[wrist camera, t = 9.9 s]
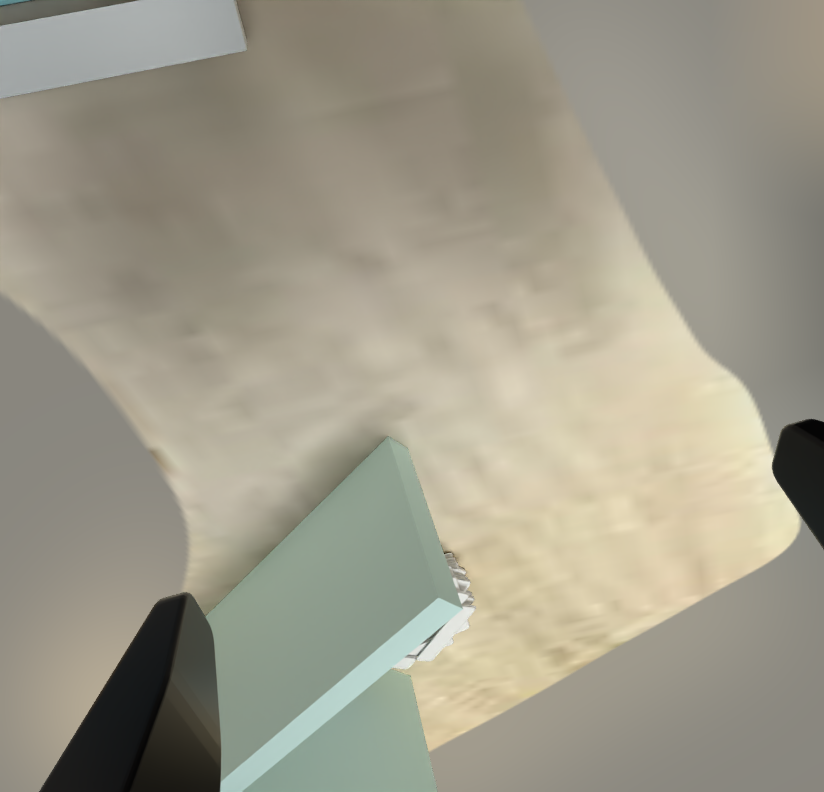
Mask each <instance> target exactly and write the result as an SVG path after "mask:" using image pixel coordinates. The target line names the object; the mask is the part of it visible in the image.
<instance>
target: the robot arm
mask: <svg viewBox="0 0 824 792" xmlns="http://www.w3.org/2000/svg"><path fill="white" fill-rule="evenodd" d="M772 470H773V474H774V476H775V479H776V480H777V482H778V484H779V485H780V487H781V488H782V489H783V491H784V492H785V494H786V495H787V497H788V498H789V500H790V501H791V503H792V504H793V505H794V507H795V508H796V510H797V511H798V513H799V514H800V516H801V517H802V519H803V520H804V521H805V523H806V524H807V526H808V527H809V529H810V530H811V532H812V533H813V534H814V536H815V537H816V539H817V540H818V542H819V543H820V545H821V546H822V548H823V549H824V422H822V421H818V420H815V419H806V420H802V421H799V422H795V423H792V424H788V425H786V426H785V427H784V428H783V429H782V430H781V433H780V436H779V440H778V444H777V448H776V451H775V455H774V458H773V462H772ZM220 786H221V731H220V717H219V703H218V689H217V675H216V661H215V647H214V638H213V633H212V629H211V626H210V624H209V622H208V621H207V619H206V617H205V616H204V614H203V612H202V611H201V609H200V607H199V605H198V604H197V602H196V600H195V599H194V597H193V596H192V595H191V594H190V593H188V592H183V593H180V594H176V595H172V596H169V597H166V598H163V599H160V600H159V601H158V602H157V603H156V604H155V605H154V607H153V608H152V610H151V612H150V614H149V615H148V616H147V618H146V620H145V622H144V623H143V625H142V626H141V628H140V629H139V631H138V633H137V634H136V636H135V638H134V639H133V641H132V642H131V644H130V646H129V647H128V649H127V651H126V652H125V654H124V655H123V657H122V659H121V660H120V662H119V663H118V665H117V667H116V669H115V670H114V671H113V673H112V675H111V676H110V678H109V680H108V681H107V683H106V684H105V686H104V688H103V690H102V691H101V692H100V694H99V696H98V697H97V699H96V701H95V702H94V704H93V705H92V707H91V709H90V710H89V712H88V714H87V715H86V717H85V718H84V720H83V722H82V723H81V725H80V727H79V728H78V730H77V731H76V733H75V735H74V736H73V738H72V739H71V741H70V743H69V744H68V746H67V748H66V749H65V751H64V752H63V754H62V756H61V757H60V759H59V761H58V762H57V764H56V765H55V767H54V769H53V770H52V772H51V773H50V775H49V777H48V778H47V780H46V781H45V783H44V785H43V786H42V788H41V790H40V791H39V792H220Z"/></svg>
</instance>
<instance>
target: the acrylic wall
mask: <svg viewBox="0 0 824 792" xmlns="http://www.w3.org/2000/svg"><path fill="white" fill-rule="evenodd" d="M243 51H247V40H246V36H245V32H244V29H243V25H242V21H241V17H240V14H239V10H238V6H237V3H236V0H138V1H133V2H127V3H122V4H117V5H111V6H106V7H100V8H95V9H89V10H84V11H78V12H73V13H68V14H62V15H57V16H51V17H46V18H40V19H35V20H29V21H24V22H19V23H13V24H8V25H2V26H0V99H1V98H7V97H12V96H17V95H22V94H27V93H32V92H37V91H42V90H48V89H53V88H58V87H63V86H68V85H73V84H78V83H84V82H89V81H94V80H99V79H104V78H109V77H114V76H119V75H125V74H130V73H135V72H140V71H145V70H150V69H155V68H160V67H166V66H171V65H176V64H181V63H186V62H191V61H196V60H202V59H207V58H212V57H217V56H222V55H227V54H232V53H237V52H243Z"/></svg>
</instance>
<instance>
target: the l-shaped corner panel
mask: <svg viewBox="0 0 824 792" xmlns="http://www.w3.org/2000/svg"><path fill="white" fill-rule="evenodd" d="M465 574H466V571H465V569H463V568H461V567H459V566H458V563H457V561H456V559H455V557H453V554H452V553H446V554H444V552H443V549H442V546H441V544H440V541H439V538H438V535H437V532H436V529H435V526H434V523H433V520H432V517H431V514H430V512H429V509H428V506H427V503H426V500H425V497H424V494H423V491H422V488H421V485H420V483H419V480H418V477H417V474H416V471H415V468H414V465H413V462H412V459H411V456H410V454H409V451H408V448H406V447H405V446H403V445H402V444H400V443H398V442H397V441H395V440H394V439H392V438H390V437H389V436H388V437H387V438H386V439H385V440H384V441H383V442H382V443H381V444H380V445H379V446H378V447H377V448H376V449H375V450H374V451H373V452H372V453H371V454H370V455H369V456H368V457H367V458H366V459H365V460H364V461H363V462H362V463H360V464H359V465H358V466H357V467H356V468H355V469H354V470H353V471H352V472H351V473H350V474H349V475H348V476H347V477H346V478H345V479H344V480H343V481H342V482H341V483H340V484H339V485H338V486H337V487H336V488H335V489H334V490H333V491H332V492H331V493H330V494H329V495H328V496H327V497H326V498H325V499H324V500H323V501H322V502H321V503H320V504H319V505H318V506H317V507H316V508H315V509H314V510H313V511H312V512H311V513H310V514H309V515H308V516H307V517H306V518H305V519H304V520H303V521H302V522H301V523H300V524H299V525H298V526H297V527H296V528H295V529H294V530H293V531H292V532H291V533H290V534H289V535H288V536H287V537H286V538H284V539H283V540H282V541H281V542H280V543H279V544H278V545H277V546H276V547H275V548H274V549H273V550H272V551H271V552H270V553H269V554H268V555H267V556H266V557H265V558H264V559H263V560H262V561H261V562H260V563H259V564H258V565H257V566H256V567H255V568H254V569H253V570H252V571H251V572H250V573H249V574H248V575H247V576H246V577H245V578H244V579H243V580H242V581H241V582H240V583H239V584H238V585H237V586H236V587H235V588H234V589H233V590H232V591H231V592H230V593H229V594H228V595H227V596H226V597H225V598H224V599H223V600H222V601H221V602H220V603H219V604H218V605H217V606H216V607H215V608H214V609H213V610H212V611H211V612H209V613H208V614H207V615H206V616H205V617H206V619H207V621H208V622H209V624H210V626H211V629H212V633H213V638H214V647H215V661H216V675H217V689H218V703H219V717H220V731H221V786H220V792H438V791H437V787H436V782H435V778H434V774H433V770H432V765H431V761H430V757H429V753H428V748H427V744H426V740H425V736H424V731H423V727H422V723H421V719H420V714H419V710H418V706H417V702H416V697H415V693H414V689H413V685H412V680H411V676H409V675H406V674H403V673H400V672H398V671H395V670H392V669H391V668H398V669H408V668H409V667H410V666H411V665H412V664H413V663H414V662H415V660H419V661H432V660H433V659H434V658H435V657H436V656H437V655H438V654H439V652H440V651H441V650H442V649H443V648H444V647H446V646H449V645H451V644H453V638H452V637H453V636H454V635H455V634H457V633H459V632H461V631H464V630H466V629H468V628H469V622H468V618H469V617H470V616H471V614H472V613H473V612H474V611H475V609H476V606H472V605H471V604H472V603H473V601H474V598H473V596H472V594H471V593H472V592H470V591H468V590H467V589H468V587H469V585H470V583H471V582H470V580H469V579H468V578H467V577H465ZM417 656H418V657H417Z"/></svg>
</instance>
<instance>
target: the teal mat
mask: <svg viewBox="0 0 824 792" xmlns="http://www.w3.org/2000/svg"><path fill="white" fill-rule="evenodd" d="M26 1H31V0H0V6H4V5H9V4H15V3H20V2H26Z"/></svg>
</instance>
